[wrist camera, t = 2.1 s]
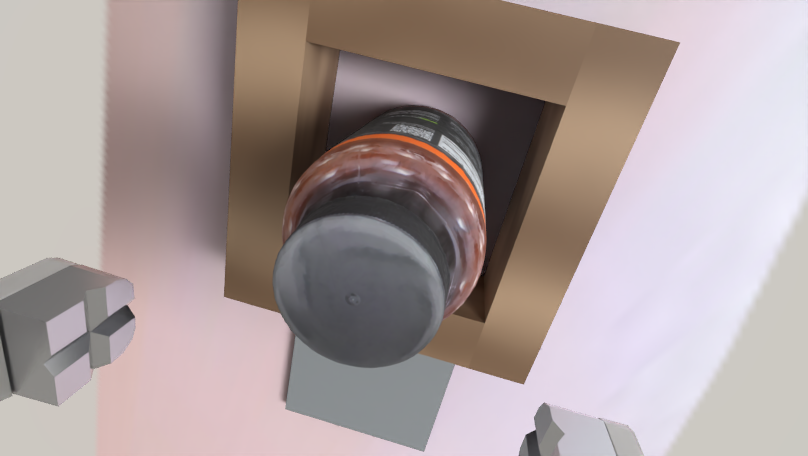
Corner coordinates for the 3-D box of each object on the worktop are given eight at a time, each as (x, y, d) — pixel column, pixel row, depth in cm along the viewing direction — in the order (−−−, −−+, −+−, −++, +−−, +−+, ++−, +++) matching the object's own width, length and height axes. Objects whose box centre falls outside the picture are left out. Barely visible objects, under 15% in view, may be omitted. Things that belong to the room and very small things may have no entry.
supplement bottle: (379, 239, 21) (286, 416, 11) (337, 125, 19) (177, 209, 9) (497, 211, 20) (516, 388, 9) (464, 84, 18) (443, 130, 7)
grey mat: (306, 285, 23) (301, 290, 22) (464, 330, 22) (464, 337, 22) (289, 401, 27) (285, 409, 26) (425, 443, 26) (423, 451, 26)
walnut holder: (291, -38, 17) (240, -62, 13) (634, 44, 16) (679, 42, 13) (264, 257, 23) (224, 296, 19) (516, 329, 22) (523, 384, 18)
